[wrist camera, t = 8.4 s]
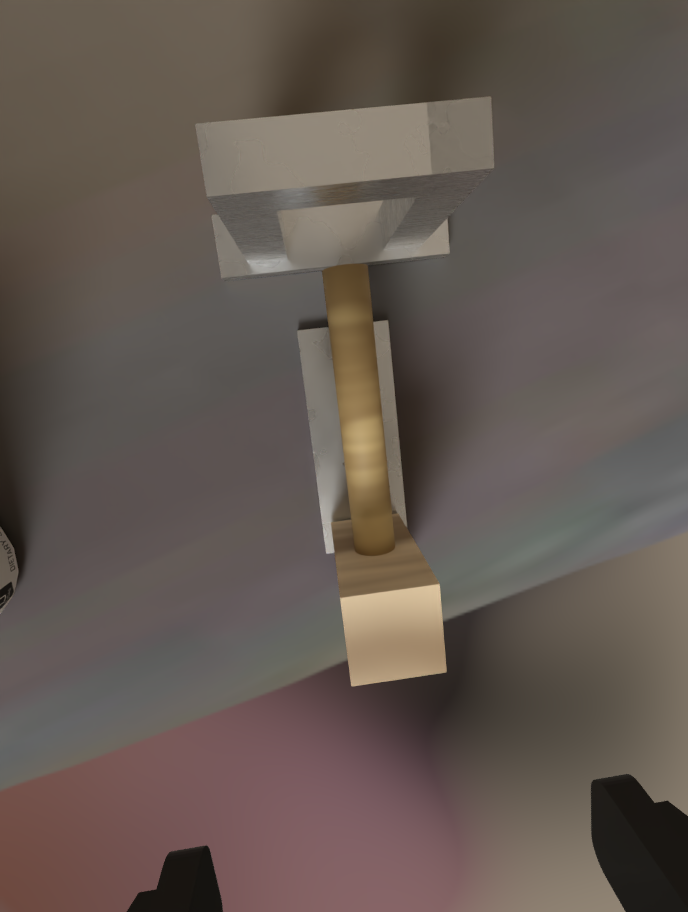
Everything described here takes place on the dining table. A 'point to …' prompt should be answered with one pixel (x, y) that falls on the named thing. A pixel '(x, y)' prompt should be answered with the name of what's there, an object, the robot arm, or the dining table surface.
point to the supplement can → (7, 570)
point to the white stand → (342, 227)
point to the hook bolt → (374, 511)
